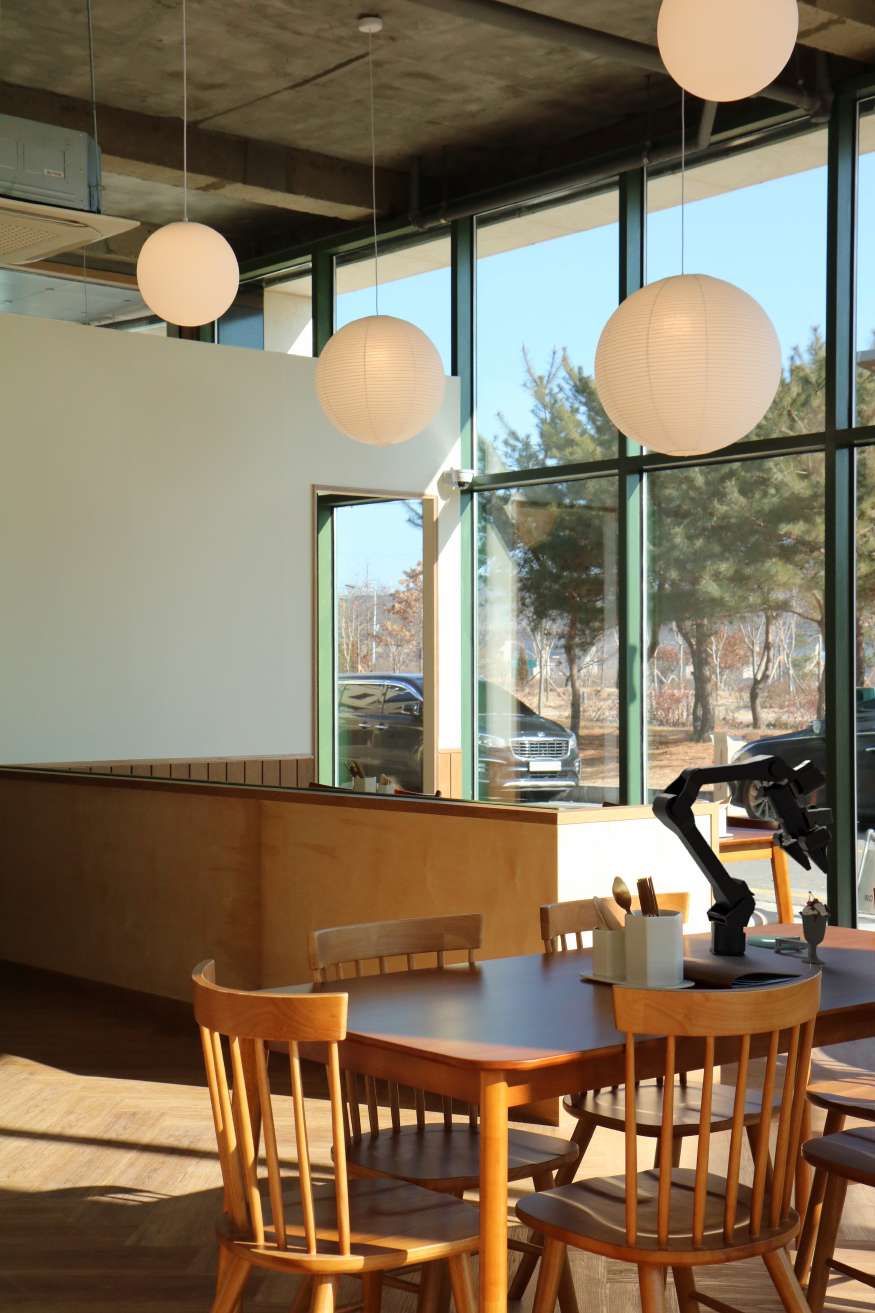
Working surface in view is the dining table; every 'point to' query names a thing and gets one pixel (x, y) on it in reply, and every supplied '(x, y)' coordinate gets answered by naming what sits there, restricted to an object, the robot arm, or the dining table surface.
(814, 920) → the sundae
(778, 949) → the jointed flat metal bars
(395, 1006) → the dining table surface
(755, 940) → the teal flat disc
